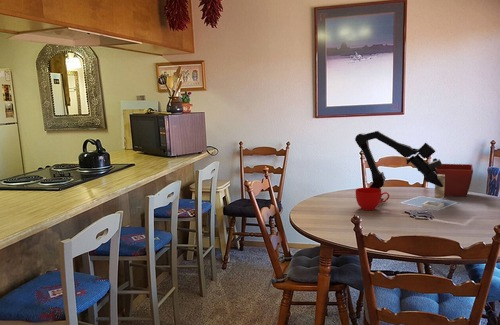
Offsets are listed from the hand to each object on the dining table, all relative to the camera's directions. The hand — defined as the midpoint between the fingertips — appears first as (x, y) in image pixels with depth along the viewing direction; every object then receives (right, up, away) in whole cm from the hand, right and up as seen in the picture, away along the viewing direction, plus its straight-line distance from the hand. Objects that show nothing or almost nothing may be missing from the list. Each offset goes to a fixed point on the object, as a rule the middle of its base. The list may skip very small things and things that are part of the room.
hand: (442, 185), depth 206 cm
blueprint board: (-7, -10, +2) cm, 12 cm away
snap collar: (-8, -10, -6) cm, 14 cm away
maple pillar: (-1, -6, +2) cm, 7 cm away
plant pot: (+15, -7, +19) cm, 25 cm away
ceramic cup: (-38, -12, -2) cm, 40 cm away
